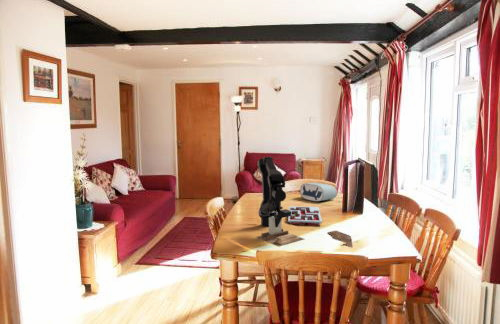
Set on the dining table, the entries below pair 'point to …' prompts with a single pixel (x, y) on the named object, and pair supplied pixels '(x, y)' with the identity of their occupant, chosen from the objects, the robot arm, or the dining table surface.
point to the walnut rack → (275, 237)
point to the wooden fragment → (341, 237)
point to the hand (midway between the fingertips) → (275, 226)
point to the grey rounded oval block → (317, 191)
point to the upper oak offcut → (286, 237)
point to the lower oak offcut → (287, 241)
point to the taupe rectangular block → (272, 227)
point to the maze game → (304, 215)
